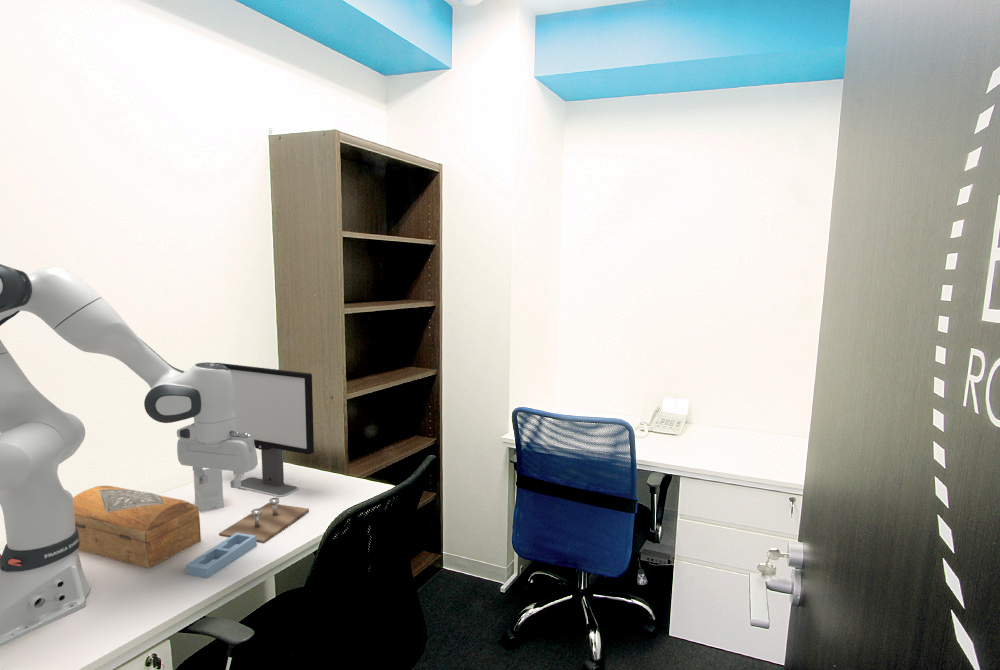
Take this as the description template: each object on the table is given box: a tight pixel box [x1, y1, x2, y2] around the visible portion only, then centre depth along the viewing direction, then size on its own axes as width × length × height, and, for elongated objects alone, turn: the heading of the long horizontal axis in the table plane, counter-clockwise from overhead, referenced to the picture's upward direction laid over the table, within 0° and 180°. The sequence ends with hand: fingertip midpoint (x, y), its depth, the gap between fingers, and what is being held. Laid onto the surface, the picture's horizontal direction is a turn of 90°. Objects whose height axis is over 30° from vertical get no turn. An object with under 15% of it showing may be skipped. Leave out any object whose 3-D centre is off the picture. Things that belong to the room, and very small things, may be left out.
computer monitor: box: [217, 362, 315, 498], centre depth 178 cm, size 41×8×40 cm, turn 67°
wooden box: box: [73, 485, 202, 569], centre depth 141 cm, size 30×16×14 cm, turn 70°
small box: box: [193, 468, 224, 513], centre depth 165 cm, size 8×6×13 cm
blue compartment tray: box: [185, 533, 258, 579], centre depth 135 cm, size 6×16×3 cm, turn 165°
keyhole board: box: [218, 502, 310, 544], centre depth 155 cm, size 20×14×1 cm
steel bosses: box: [250, 497, 280, 527], centre depth 154 cm, size 10×3×5 cm, turn 165°
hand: (219, 485), depth 133 cm, fingers open, 8 cm apart
